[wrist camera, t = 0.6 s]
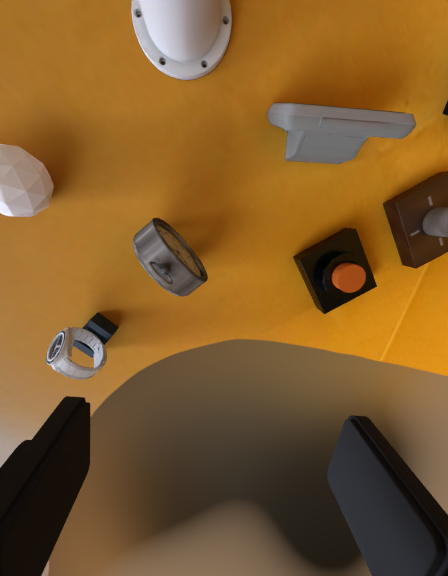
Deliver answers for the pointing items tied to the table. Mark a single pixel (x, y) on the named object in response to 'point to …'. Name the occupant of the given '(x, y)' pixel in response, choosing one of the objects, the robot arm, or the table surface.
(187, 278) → the alarm clock
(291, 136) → the digital clock
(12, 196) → the white faceted rounded piece
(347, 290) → the button
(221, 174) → the table surface
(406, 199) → the dial panel
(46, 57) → the table surface
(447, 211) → the dial
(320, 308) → the button box
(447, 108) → the digital camera
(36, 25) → the table surface
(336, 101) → the table surface
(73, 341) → the watch
